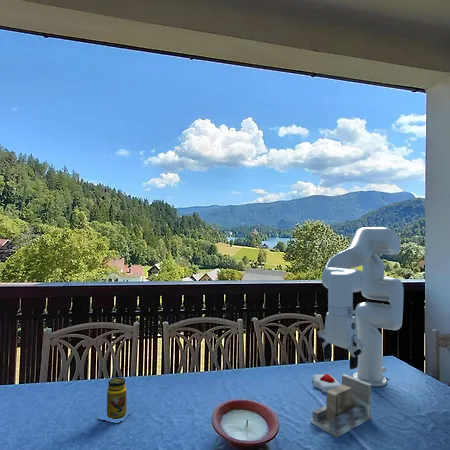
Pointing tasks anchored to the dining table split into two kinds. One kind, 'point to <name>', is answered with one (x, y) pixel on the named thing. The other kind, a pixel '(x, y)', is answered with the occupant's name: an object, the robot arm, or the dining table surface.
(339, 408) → the door
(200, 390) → the dining table surface
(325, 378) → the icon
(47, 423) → the dining table surface
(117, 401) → the condiment
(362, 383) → the track
